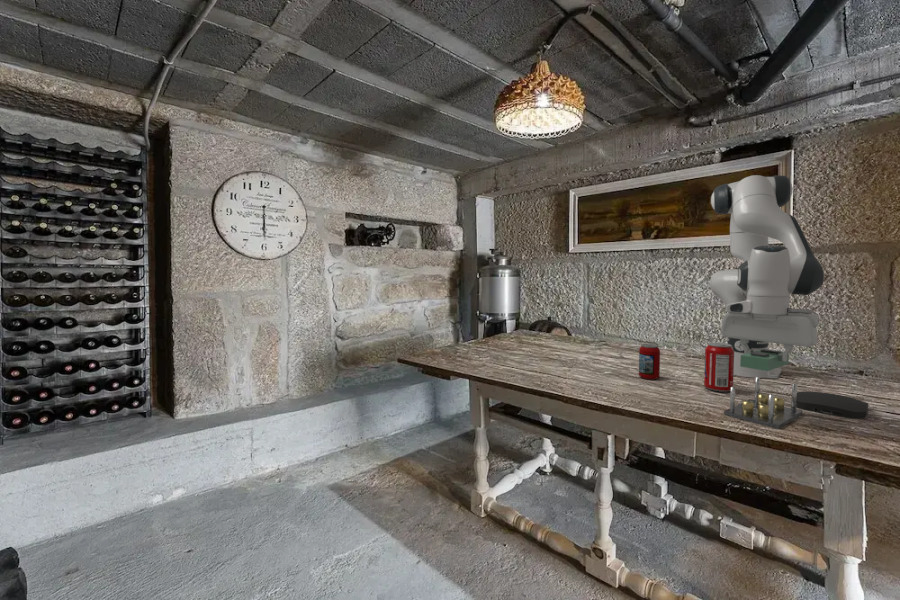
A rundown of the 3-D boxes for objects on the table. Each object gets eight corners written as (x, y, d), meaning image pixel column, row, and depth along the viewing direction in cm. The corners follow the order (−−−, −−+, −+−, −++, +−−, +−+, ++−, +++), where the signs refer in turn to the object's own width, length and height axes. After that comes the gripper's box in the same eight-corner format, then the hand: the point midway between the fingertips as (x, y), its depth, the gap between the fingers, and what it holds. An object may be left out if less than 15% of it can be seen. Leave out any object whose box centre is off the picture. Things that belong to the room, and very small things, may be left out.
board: (761, 359, 113) (762, 347, 112) (788, 363, 108) (788, 350, 107) (740, 366, 105) (740, 353, 105) (767, 371, 100) (768, 357, 100)
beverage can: (634, 376, 147) (635, 344, 146) (649, 374, 149) (649, 343, 148) (648, 381, 141) (649, 347, 140) (663, 379, 143) (664, 346, 142)
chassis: (750, 402, 117) (751, 375, 117) (802, 414, 107) (804, 385, 107) (723, 414, 107) (724, 385, 107) (778, 429, 98) (779, 397, 97)
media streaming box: (799, 397, 122) (800, 387, 122) (868, 409, 111) (869, 398, 111) (790, 408, 113) (791, 398, 112) (865, 422, 102) (865, 411, 101)
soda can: (718, 394, 125) (719, 347, 124) (698, 387, 133) (699, 342, 132) (739, 392, 127) (740, 345, 126) (718, 385, 134) (719, 341, 133)
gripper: (823, 309, 98) (820, 364, 99) (729, 304, 115) (727, 351, 116) (815, 310, 95) (812, 367, 96) (719, 305, 112) (717, 353, 113)
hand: (764, 358), depth 106 cm, fingers closed on board, 6 cm apart
